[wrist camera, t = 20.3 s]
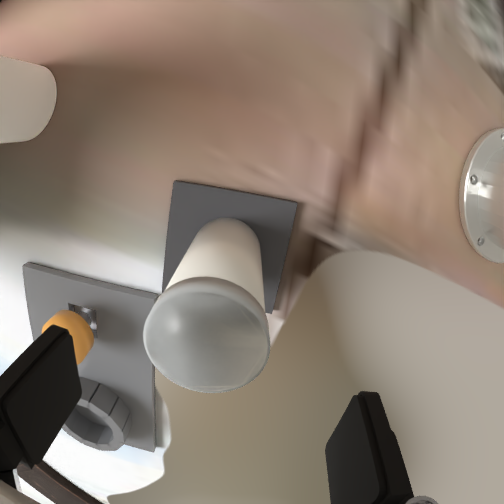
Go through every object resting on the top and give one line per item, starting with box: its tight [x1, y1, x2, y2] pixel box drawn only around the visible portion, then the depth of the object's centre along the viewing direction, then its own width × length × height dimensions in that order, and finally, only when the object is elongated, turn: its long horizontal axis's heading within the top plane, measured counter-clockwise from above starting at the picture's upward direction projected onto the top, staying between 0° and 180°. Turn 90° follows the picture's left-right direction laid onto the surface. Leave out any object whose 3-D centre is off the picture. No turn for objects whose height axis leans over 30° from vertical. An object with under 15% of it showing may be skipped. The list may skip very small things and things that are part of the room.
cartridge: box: [143, 218, 270, 393], centre depth 18 cm, size 5×5×12 cm
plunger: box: [42, 310, 94, 365], centre depth 24 cm, size 4×4×4 cm
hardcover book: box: [16, 461, 102, 504], centre depth 41 cm, size 16×23×2 cm
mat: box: [162, 181, 298, 314], centre depth 24 cm, size 9×9×1 cm
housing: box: [23, 262, 158, 452], centre depth 27 cm, size 14×22×4 cm, turn 169°
